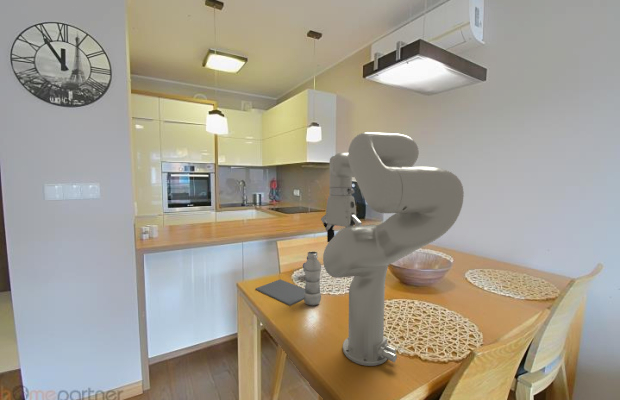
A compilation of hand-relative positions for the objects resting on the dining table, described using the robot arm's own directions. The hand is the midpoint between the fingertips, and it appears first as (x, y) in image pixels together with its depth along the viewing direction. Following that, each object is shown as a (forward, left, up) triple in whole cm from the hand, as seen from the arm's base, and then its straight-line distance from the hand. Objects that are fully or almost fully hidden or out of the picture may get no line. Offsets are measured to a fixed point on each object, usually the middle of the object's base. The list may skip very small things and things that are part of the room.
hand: (340, 243), depth 92 cm
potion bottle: (+31, -19, -26) cm, 45 cm away
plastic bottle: (+13, 0, -26) cm, 29 cm away
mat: (+29, 0, -26) cm, 39 cm away
